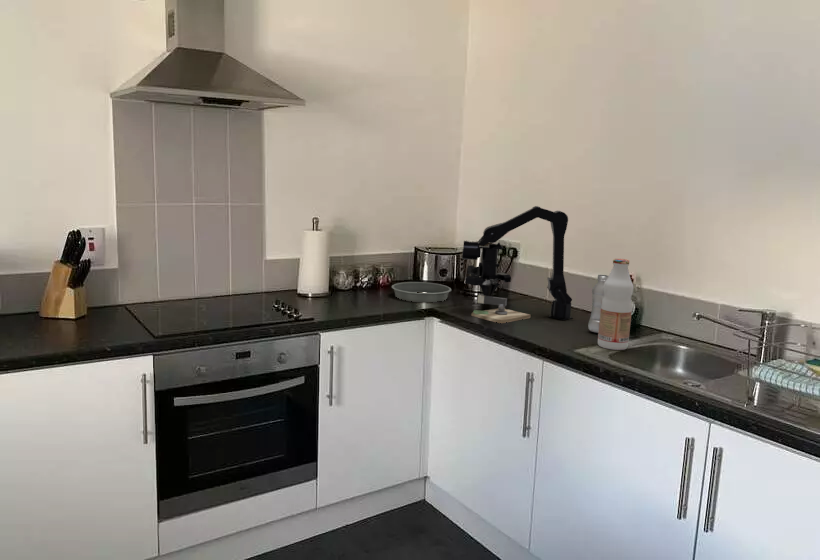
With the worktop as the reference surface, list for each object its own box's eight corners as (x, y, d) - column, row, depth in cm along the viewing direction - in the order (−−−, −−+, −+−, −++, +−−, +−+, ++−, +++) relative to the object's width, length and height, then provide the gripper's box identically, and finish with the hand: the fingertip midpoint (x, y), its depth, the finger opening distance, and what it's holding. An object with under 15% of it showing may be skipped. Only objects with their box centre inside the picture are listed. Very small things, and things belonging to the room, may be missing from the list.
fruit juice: (597, 348, 216) (605, 260, 211) (597, 341, 225) (605, 256, 220) (628, 351, 213) (637, 262, 209) (627, 344, 222) (636, 259, 218)
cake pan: (392, 290, 295) (392, 280, 295) (449, 293, 295) (449, 283, 295) (390, 302, 271) (390, 291, 270) (452, 305, 271) (452, 294, 270)
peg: (506, 310, 254) (507, 298, 253) (504, 311, 251) (505, 299, 251) (479, 306, 258) (479, 294, 257) (477, 307, 256) (477, 295, 255)
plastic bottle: (592, 329, 241) (598, 273, 238) (610, 333, 237) (616, 276, 233) (584, 332, 236) (589, 275, 233) (603, 336, 232) (608, 277, 229)
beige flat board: (530, 318, 254) (530, 312, 254) (499, 323, 242) (499, 318, 242) (496, 309, 266) (497, 304, 266) (465, 314, 254) (466, 309, 254)
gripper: (492, 256, 267) (490, 295, 270) (456, 258, 256) (454, 299, 259) (513, 260, 259) (510, 300, 261) (476, 263, 247) (474, 305, 250)
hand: (487, 301), depth 258 cm, fingers closed
